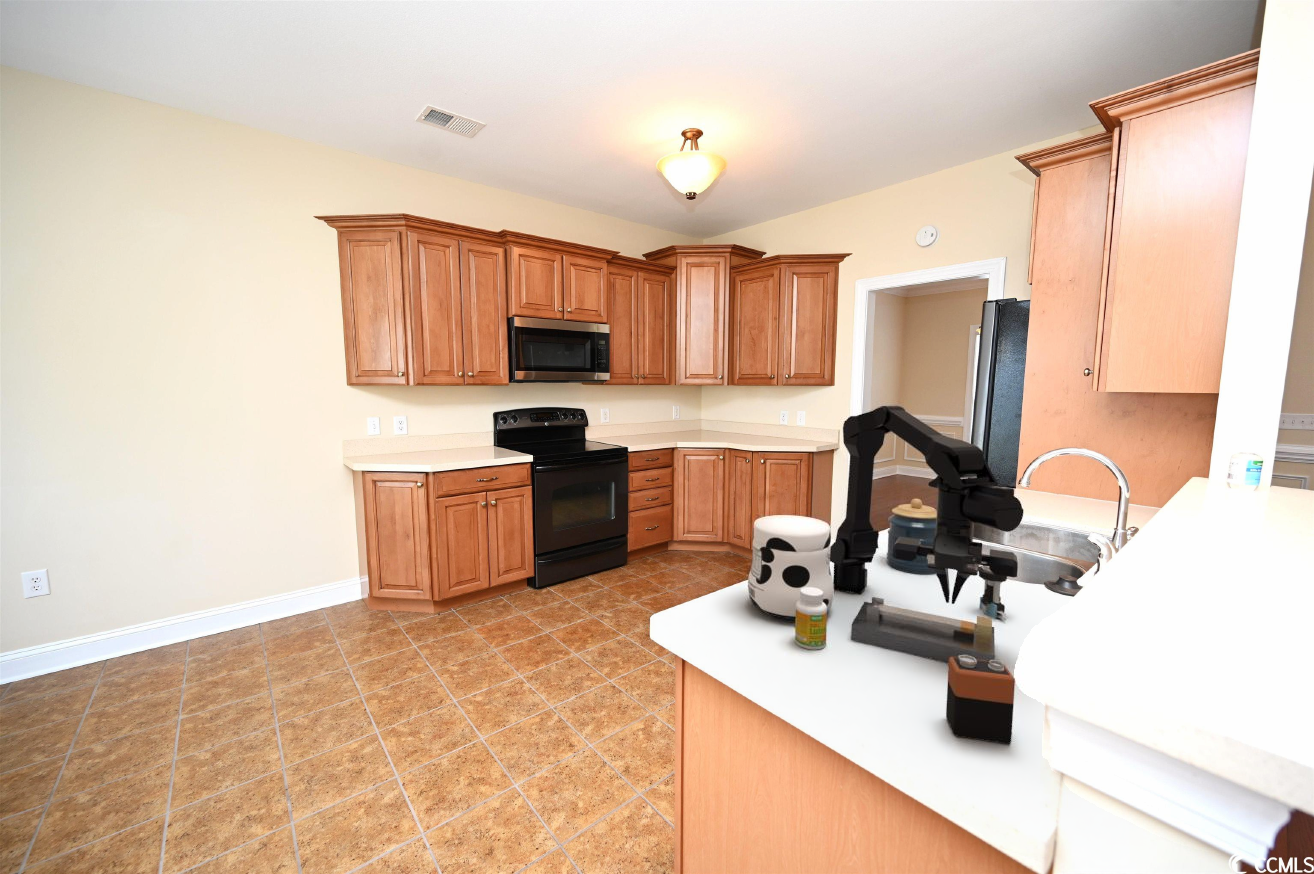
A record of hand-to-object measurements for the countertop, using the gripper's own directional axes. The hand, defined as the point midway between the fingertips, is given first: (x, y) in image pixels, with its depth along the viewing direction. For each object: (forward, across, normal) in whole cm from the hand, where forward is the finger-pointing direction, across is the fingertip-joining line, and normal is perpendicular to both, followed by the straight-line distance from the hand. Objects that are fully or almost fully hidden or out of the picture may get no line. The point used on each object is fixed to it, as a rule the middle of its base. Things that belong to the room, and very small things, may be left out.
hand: (950, 602), depth 94 cm
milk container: (+8, -29, +1) cm, 30 cm away
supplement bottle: (+8, -21, -12) cm, 26 cm away
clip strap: (+4, -4, -1) cm, 6 cm away
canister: (+8, -10, +43) cm, 45 cm away
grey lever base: (+8, -4, -1) cm, 9 cm away
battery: (+8, +5, -25) cm, 27 cm away
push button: (+8, +7, +19) cm, 22 cm away
